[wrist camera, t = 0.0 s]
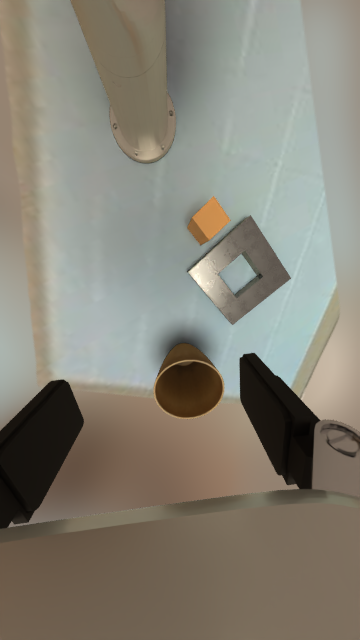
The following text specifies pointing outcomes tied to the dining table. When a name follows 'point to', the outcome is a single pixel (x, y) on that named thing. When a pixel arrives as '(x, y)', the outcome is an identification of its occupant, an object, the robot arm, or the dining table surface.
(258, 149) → the dining table surface
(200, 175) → the dining table surface
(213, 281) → the grey square frame
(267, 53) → the dining table surface
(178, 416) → the plant pot
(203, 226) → the orange rectangular block
